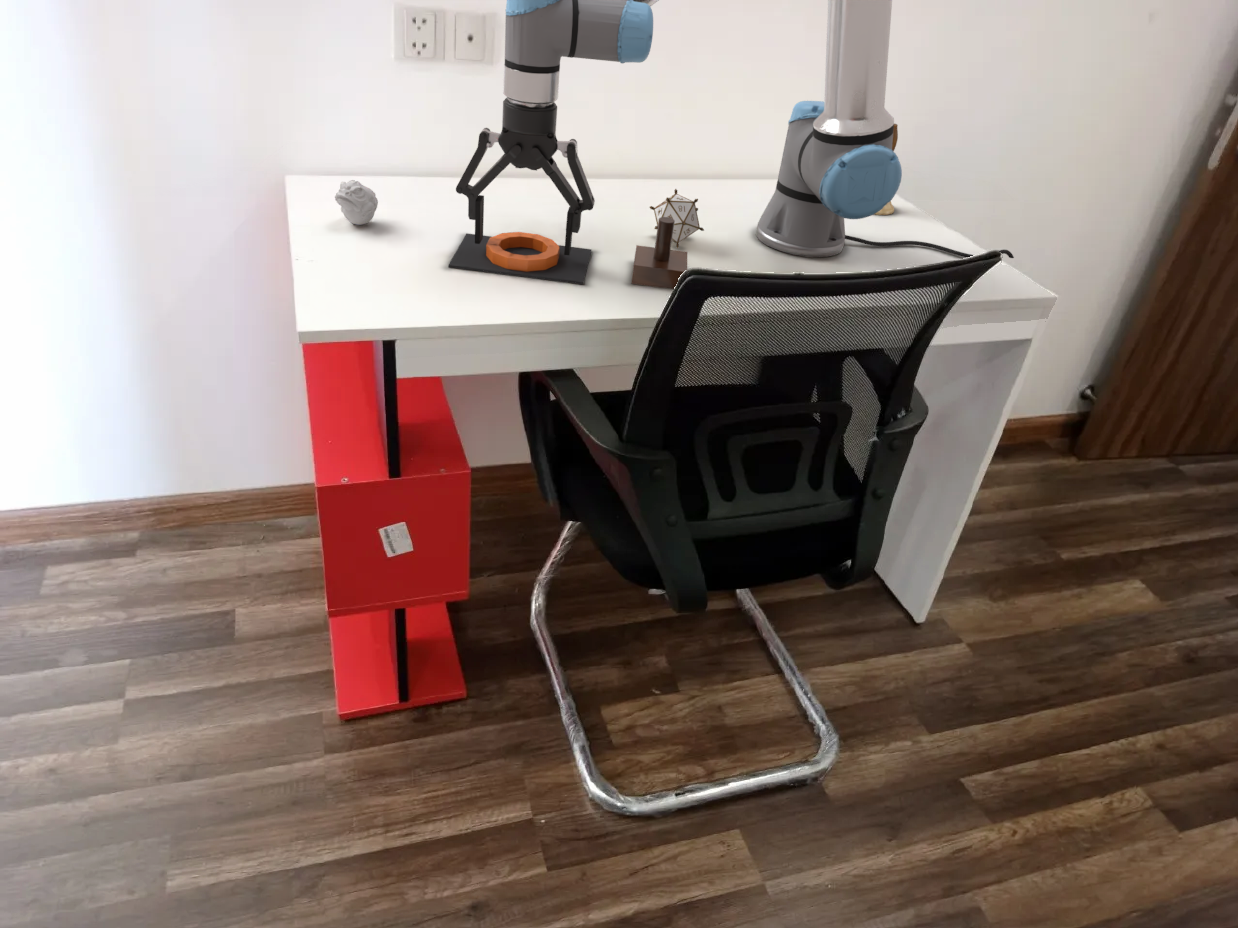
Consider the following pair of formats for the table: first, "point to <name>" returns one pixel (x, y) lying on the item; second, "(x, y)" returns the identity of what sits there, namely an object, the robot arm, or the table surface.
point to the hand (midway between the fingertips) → (523, 246)
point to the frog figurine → (356, 202)
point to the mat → (565, 270)
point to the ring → (522, 262)
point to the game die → (679, 216)
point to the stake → (659, 259)
